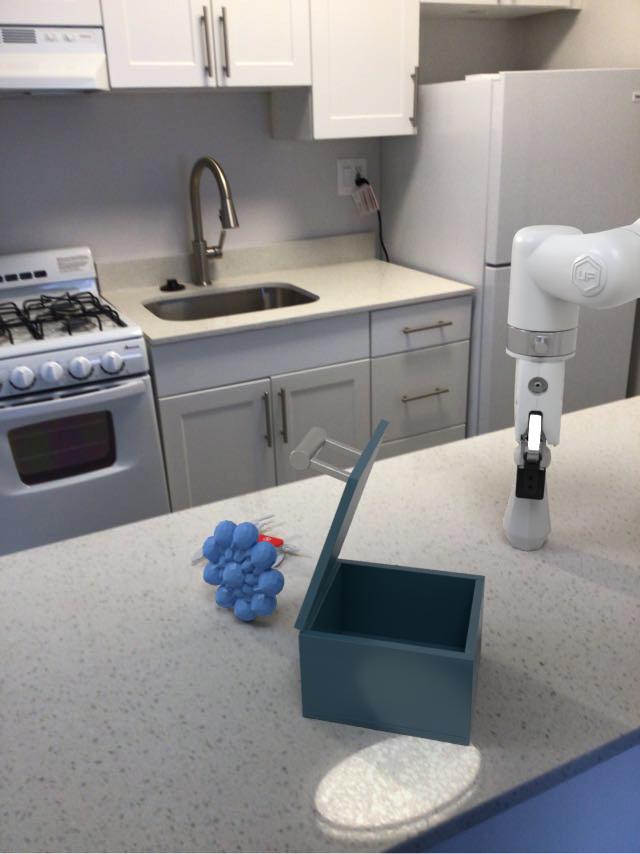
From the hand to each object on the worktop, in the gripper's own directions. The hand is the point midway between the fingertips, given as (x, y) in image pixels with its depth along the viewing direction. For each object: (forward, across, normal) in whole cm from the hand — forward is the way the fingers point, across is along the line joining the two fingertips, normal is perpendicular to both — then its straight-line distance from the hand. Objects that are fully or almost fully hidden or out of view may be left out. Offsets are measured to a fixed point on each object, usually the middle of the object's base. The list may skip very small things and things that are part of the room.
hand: (529, 484), depth 91 cm
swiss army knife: (+8, -9, +32) cm, 34 cm away
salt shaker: (+8, 0, 0) cm, 8 cm away
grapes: (+8, -22, +28) cm, 37 cm away
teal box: (+8, -29, +11) cm, 32 cm away
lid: (-8, -29, +15) cm, 34 cm away
